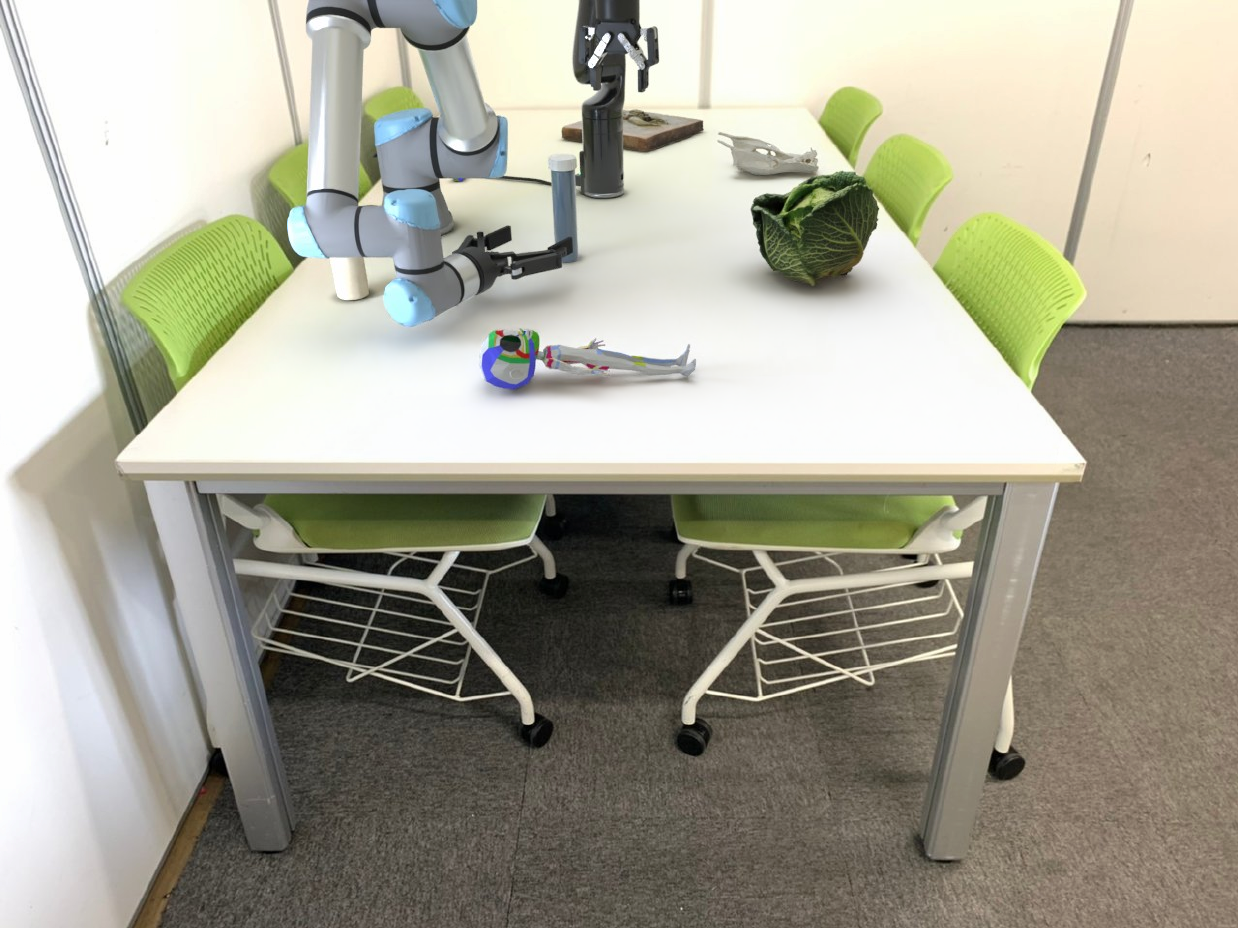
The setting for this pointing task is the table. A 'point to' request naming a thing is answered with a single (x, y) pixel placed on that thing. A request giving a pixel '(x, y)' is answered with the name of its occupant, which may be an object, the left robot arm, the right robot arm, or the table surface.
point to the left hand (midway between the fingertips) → (539, 238)
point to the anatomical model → (767, 157)
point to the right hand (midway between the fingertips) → (619, 91)
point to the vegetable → (816, 226)
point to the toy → (561, 359)
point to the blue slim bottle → (565, 209)
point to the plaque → (645, 129)
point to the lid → (562, 162)
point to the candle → (350, 277)
